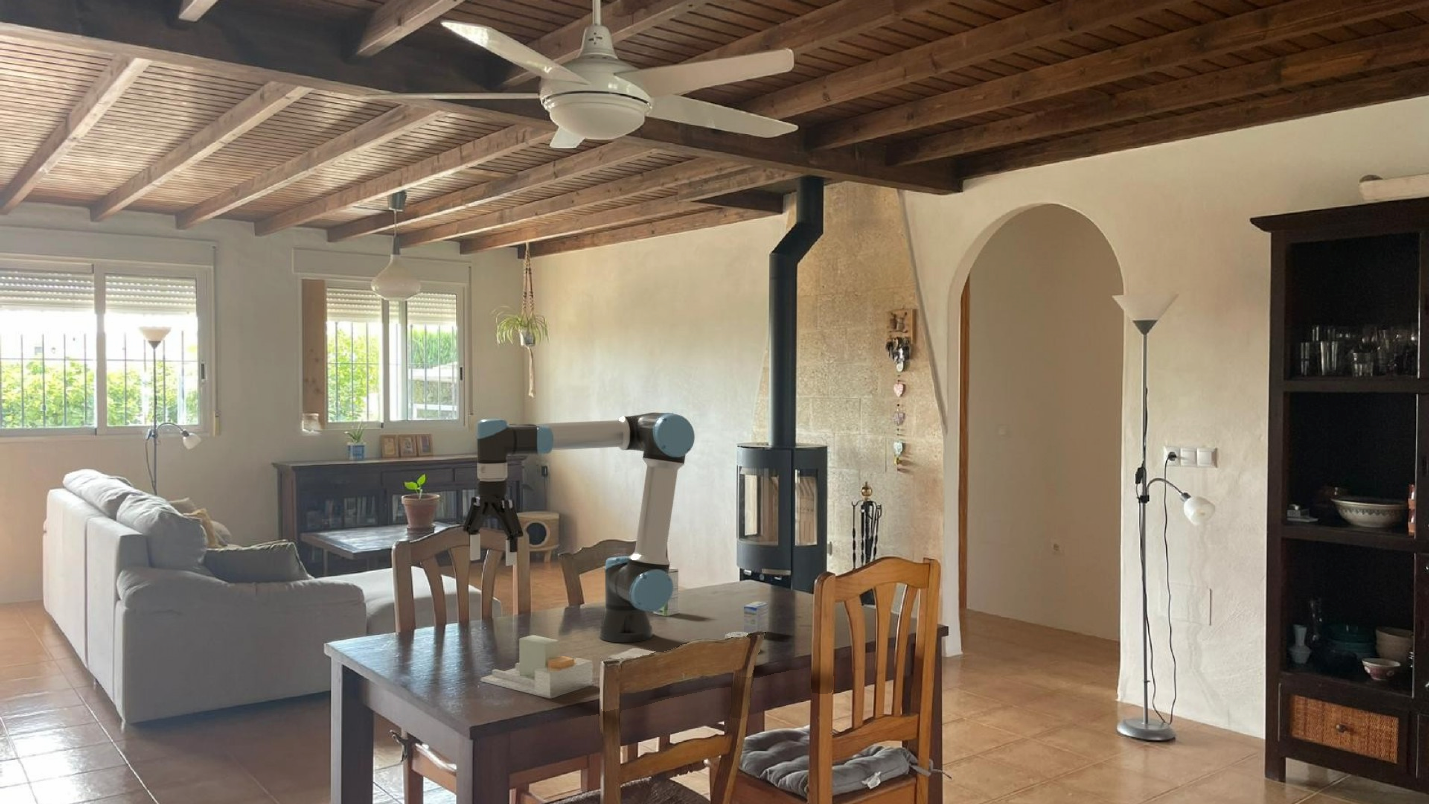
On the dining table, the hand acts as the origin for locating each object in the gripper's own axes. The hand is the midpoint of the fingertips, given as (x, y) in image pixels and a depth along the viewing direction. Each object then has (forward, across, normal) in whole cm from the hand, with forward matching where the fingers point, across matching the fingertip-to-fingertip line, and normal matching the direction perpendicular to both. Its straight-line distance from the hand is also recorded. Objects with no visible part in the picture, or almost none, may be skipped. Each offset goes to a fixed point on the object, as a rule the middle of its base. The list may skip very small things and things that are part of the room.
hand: (492, 562), depth 270 cm
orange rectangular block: (+26, +29, -4) cm, 39 cm away
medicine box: (+27, +34, +69) cm, 82 cm away
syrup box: (+27, -4, +74) cm, 79 cm away
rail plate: (+27, +20, -4) cm, 34 cm away
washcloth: (+27, +30, +25) cm, 48 cm away
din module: (+26, +21, -4) cm, 34 cm away
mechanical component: (+27, +40, +51) cm, 71 cm away
